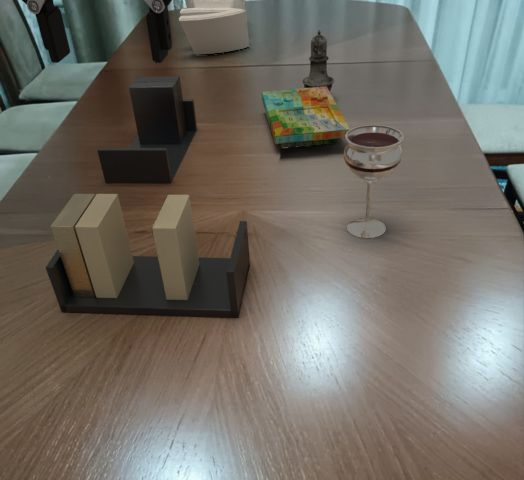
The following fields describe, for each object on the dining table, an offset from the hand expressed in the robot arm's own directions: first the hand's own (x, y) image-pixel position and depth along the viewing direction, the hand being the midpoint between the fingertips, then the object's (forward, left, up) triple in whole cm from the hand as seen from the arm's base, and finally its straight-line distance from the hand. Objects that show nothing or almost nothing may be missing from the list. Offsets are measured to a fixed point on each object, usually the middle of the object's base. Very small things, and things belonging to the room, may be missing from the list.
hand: (110, 58), depth 53 cm
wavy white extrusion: (-9, +99, -24) cm, 102 cm away
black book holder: (+2, -4, -24) cm, 24 cm away
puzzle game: (+16, +41, -24) cm, 50 cm away
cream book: (+5, -4, -23) cm, 23 cm away
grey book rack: (-7, +30, -24) cm, 39 cm away
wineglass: (+26, +10, -24) cm, 36 cm away
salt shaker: (+18, +56, -24) cm, 63 cm away
